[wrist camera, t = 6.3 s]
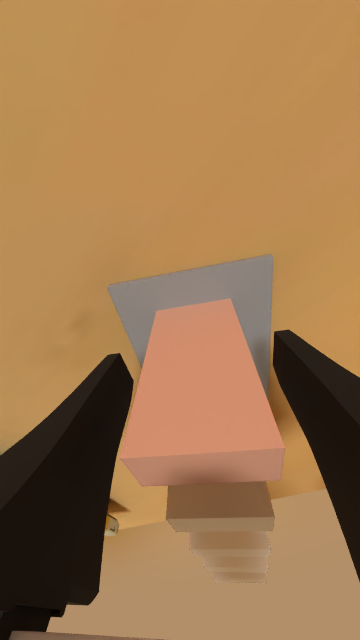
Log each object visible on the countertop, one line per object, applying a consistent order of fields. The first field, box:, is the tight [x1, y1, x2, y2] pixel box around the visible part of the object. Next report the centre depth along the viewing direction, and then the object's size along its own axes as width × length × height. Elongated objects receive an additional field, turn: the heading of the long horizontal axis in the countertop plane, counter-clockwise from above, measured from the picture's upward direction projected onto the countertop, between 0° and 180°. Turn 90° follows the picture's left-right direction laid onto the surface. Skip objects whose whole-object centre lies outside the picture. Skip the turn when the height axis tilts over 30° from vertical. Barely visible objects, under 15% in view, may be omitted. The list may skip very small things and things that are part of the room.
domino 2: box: [166, 481, 275, 532], centre depth 12 cm, size 4×2×8 cm, turn 102°
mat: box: [107, 254, 273, 400], centre depth 19 cm, size 9×27×1 cm, turn 12°
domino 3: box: [189, 531, 271, 557], centre depth 15 cm, size 4×2×8 cm, turn 102°
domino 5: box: [213, 572, 267, 583], centre depth 21 cm, size 4×2×8 cm, turn 102°
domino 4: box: [203, 557, 268, 573], centre depth 18 cm, size 4×2×8 cm, turn 102°
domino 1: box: [120, 298, 285, 487], centre depth 9 cm, size 4×2×8 cm, turn 102°
